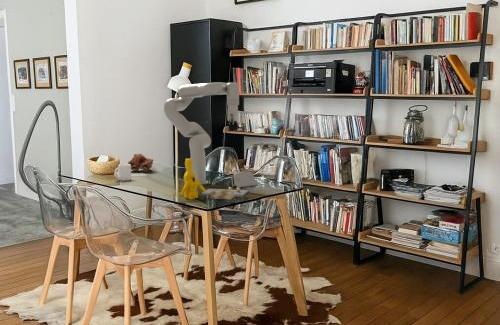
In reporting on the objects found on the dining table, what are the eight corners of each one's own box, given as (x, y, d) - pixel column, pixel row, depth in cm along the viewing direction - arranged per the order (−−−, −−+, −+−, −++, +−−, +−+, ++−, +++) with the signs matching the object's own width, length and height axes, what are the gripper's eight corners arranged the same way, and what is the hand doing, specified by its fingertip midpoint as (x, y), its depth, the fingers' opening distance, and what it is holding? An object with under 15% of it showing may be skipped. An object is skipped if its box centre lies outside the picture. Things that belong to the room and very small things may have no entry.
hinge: (237, 187, 322) (233, 171, 324) (232, 189, 326) (229, 173, 327) (257, 184, 333) (254, 169, 334) (253, 186, 337) (249, 171, 338)
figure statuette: (182, 201, 281) (181, 161, 279) (174, 199, 287) (173, 159, 284) (208, 197, 293) (207, 158, 290) (199, 195, 299) (199, 157, 296)
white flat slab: (202, 194, 300) (201, 192, 300) (208, 190, 312) (208, 188, 312) (242, 196, 295) (242, 194, 294) (247, 192, 307) (247, 190, 307)
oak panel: (210, 198, 289) (210, 191, 288) (213, 196, 295) (213, 189, 294) (231, 199, 286) (231, 192, 286) (234, 197, 292) (234, 190, 292)
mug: (117, 182, 343) (117, 166, 342) (111, 180, 349) (110, 165, 348) (133, 179, 351) (133, 164, 350) (127, 178, 357) (126, 163, 356)
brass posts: (227, 191, 302) (227, 187, 302) (228, 191, 304) (228, 187, 304) (239, 192, 300) (239, 188, 300) (240, 191, 302) (240, 187, 302)
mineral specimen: (130, 175, 399) (126, 155, 398) (156, 170, 402) (152, 151, 402) (128, 175, 377) (124, 155, 377) (155, 170, 381) (151, 150, 380)
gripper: (230, 102, 331) (230, 129, 333) (223, 103, 314) (224, 131, 316) (241, 102, 329) (242, 129, 331) (235, 102, 312) (236, 131, 315)
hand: (233, 130), depth 324 cm, fingers open, 9 cm apart
